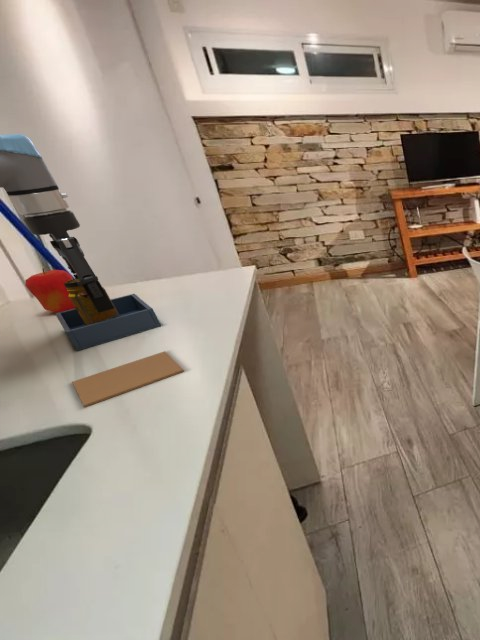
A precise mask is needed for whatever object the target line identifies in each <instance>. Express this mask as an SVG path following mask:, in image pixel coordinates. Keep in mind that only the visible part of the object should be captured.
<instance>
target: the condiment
mask: <svg viewBox="0 0 480 640" xmlns="http://www.w3.org/2000/svg"><path fill="white" fill-rule="evenodd" d="M77 282H80V279H79V278H77V279H75V278H73V280H70V281H67V282H65V284H64V286H65V287H66V288H67V291H68V292H69V298H70V300H71V301H72V303H73V304H74V306H75V308H76V309H77V311H78V313H79V315H80V316H81V318H82V319H83V321H84V323H85V324H86V326H87V325H91V324H94V323H98V322H102V321H105V320H109V319H113V318H116V317H120V315H119V313H118V312H117V310H116V308H115V307H114V309H110V310H107V311H103V312H98V311H97V309H96V308H95V306H94V304H93V303H92V301H91V299H90V298H89V296H88V294H87V293H86V291H85V289H84V288H83V286H78V284H77ZM102 288H103V289H104V291H105V293H106V294H107V296H108V298H109V300H110V301H111V299H112V298H110V296H109V294H108V292H107V290H106V288H104V287H103V286H102ZM111 303H112V301H111ZM112 305H113V303H112ZM113 306H114V305H113Z"/></svg>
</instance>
